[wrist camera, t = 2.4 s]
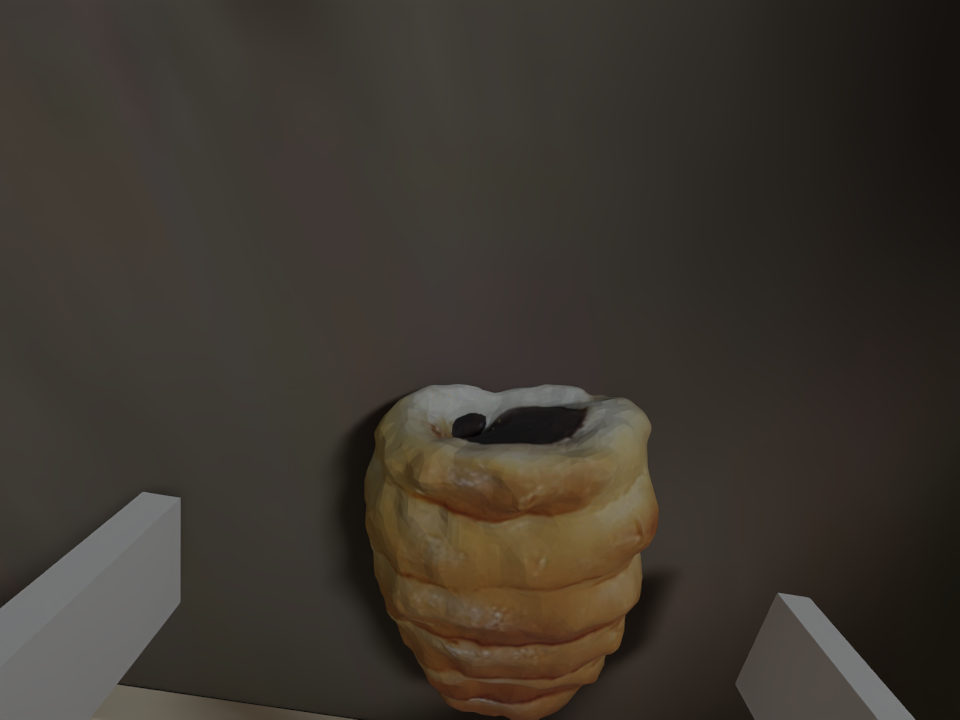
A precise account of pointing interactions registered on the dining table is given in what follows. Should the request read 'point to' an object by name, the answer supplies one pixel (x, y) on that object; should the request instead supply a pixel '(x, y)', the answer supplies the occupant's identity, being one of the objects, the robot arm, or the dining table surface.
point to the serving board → (188, 708)
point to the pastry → (510, 538)
